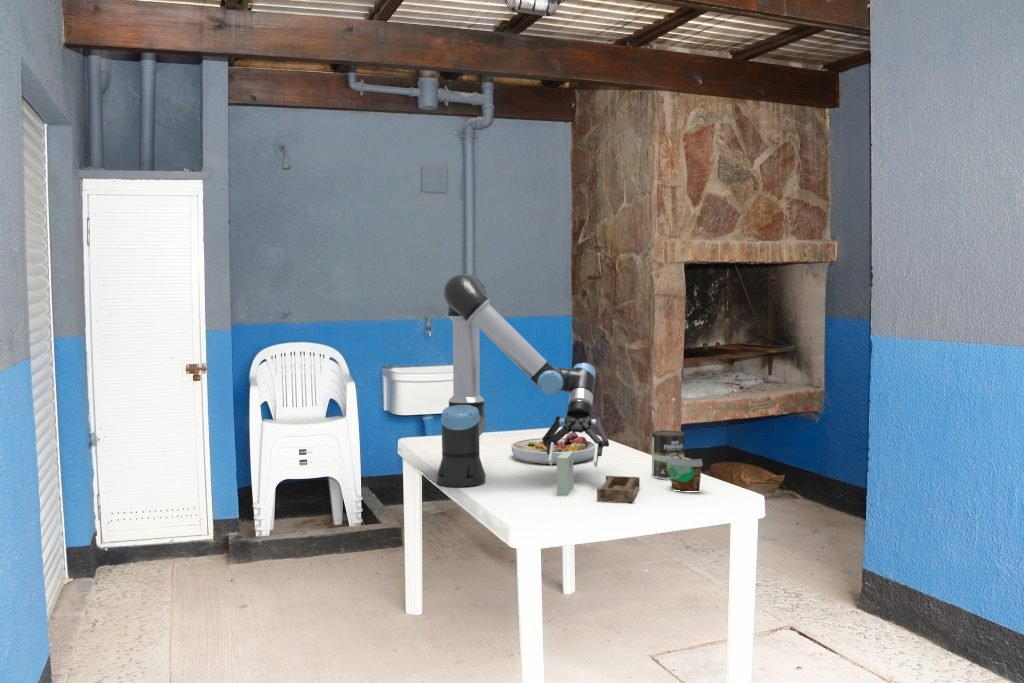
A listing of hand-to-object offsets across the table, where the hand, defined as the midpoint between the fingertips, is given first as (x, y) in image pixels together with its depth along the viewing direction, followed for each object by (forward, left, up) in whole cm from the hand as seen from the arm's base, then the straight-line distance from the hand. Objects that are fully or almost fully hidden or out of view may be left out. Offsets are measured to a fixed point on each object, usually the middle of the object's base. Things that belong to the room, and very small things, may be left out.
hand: (572, 463), depth 254 cm
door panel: (-2, -3, -8) cm, 8 cm away
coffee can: (+26, +24, -8) cm, 36 cm away
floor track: (+14, -4, -8) cm, 17 cm away
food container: (+31, +6, -8) cm, 33 cm away
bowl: (-16, +47, -8) cm, 50 cm away
